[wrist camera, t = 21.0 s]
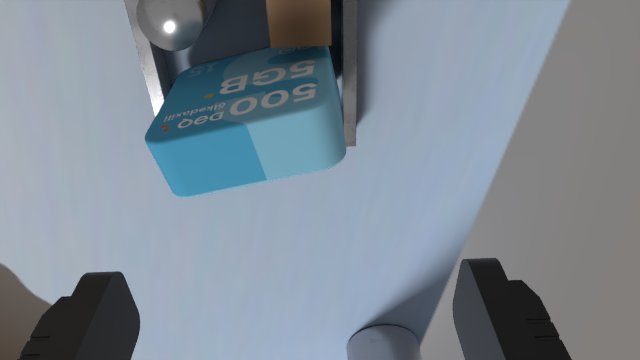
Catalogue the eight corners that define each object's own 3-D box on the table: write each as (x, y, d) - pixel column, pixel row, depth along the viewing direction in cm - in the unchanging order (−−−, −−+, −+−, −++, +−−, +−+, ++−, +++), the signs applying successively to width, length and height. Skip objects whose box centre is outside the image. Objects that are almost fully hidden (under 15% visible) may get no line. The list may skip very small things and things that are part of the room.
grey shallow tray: (353, 154, 42) (355, 169, 40) (178, 160, 42) (171, 176, 40) (355, -116, 30) (359, -113, 28) (110, -105, 30) (96, -102, 28)
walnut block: (327, -40, 33) (330, -20, 28) (328, 17, 35) (331, 45, 30) (270, -38, 33) (264, -17, 28) (275, 19, 35) (270, 47, 30)
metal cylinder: (211, -37, 33) (194, -16, 28) (220, 21, 35) (206, 49, 30) (155, -34, 33) (128, -13, 28) (167, 23, 35) (145, 52, 30)
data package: (326, 32, 36) (333, 102, 26) (338, 85, 38) (348, 166, 29) (180, 68, 37) (136, 147, 28) (202, 116, 40) (168, 204, 30)
